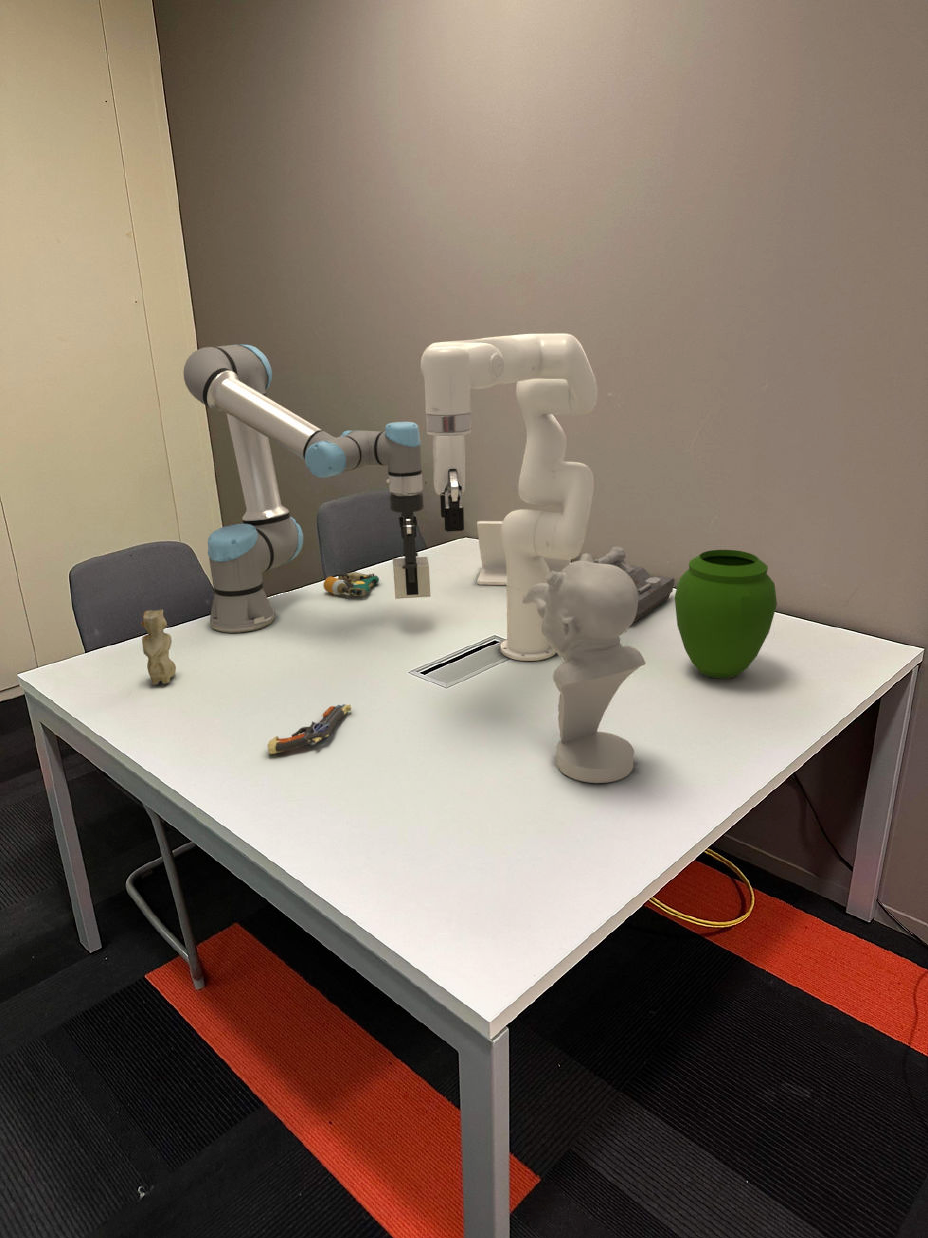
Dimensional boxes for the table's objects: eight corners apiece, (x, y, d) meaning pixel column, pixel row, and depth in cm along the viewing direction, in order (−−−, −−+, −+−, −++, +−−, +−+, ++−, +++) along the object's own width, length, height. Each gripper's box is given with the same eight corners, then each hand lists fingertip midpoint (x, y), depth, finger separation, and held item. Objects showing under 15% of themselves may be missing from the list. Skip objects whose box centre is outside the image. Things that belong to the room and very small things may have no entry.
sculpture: (181, 672, 182) (171, 606, 177) (172, 686, 176) (161, 618, 170) (154, 673, 182) (142, 607, 177) (144, 687, 175) (131, 619, 170)
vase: (779, 663, 178) (792, 551, 169) (754, 700, 162) (766, 578, 154) (688, 646, 188) (695, 539, 179) (656, 679, 172) (662, 563, 164)
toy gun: (262, 744, 147) (317, 741, 144) (302, 702, 164) (351, 699, 162) (265, 758, 147) (319, 756, 145) (305, 715, 165) (354, 712, 163)
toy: (603, 584, 229) (605, 530, 224) (673, 597, 218) (677, 540, 213) (555, 612, 210) (556, 553, 205) (630, 627, 199) (633, 566, 194)
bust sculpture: (574, 712, 160) (578, 530, 147) (660, 769, 140) (672, 565, 127) (501, 733, 153) (498, 544, 140) (579, 797, 133) (584, 583, 120)
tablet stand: (569, 585, 229) (570, 524, 223) (476, 584, 232) (475, 523, 226) (570, 566, 246) (571, 508, 240) (484, 564, 249) (483, 507, 243)
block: (394, 589, 204) (392, 558, 201) (428, 587, 204) (427, 556, 202) (395, 599, 197) (393, 567, 195) (430, 596, 198) (428, 564, 195)
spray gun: (347, 579, 242) (393, 587, 236) (313, 594, 227) (362, 602, 221) (347, 565, 240) (393, 572, 235) (313, 578, 226) (361, 587, 220)
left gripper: (389, 484, 201) (395, 577, 209) (390, 503, 183) (396, 604, 191) (420, 483, 202) (425, 575, 210) (425, 501, 183) (430, 602, 191)
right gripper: (423, 418, 151) (428, 513, 157) (429, 432, 134) (433, 537, 140) (466, 416, 151) (468, 511, 157) (476, 430, 135) (479, 535, 141)
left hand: (411, 589), depth 200 cm, fingers closed on block, 7 cm apart
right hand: (452, 523), depth 149 cm, fingers open, 9 cm apart
